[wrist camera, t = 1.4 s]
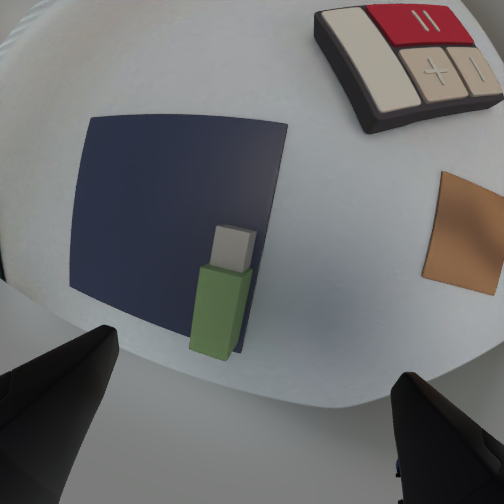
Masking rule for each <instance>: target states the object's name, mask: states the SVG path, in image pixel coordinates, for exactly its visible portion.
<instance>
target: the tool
mask: <svg viewBox="0 0 504 504" xmlns="http://www.w3.org/2000/svg"><path fill="white" fill-rule="evenodd" d="M256 234H257V231H254V230H250V229H245V228H241V227H236V226H231V225H219V226H216V231H215V236H214V242H213V248H212V253H211V259H210V263H208V264H206V265H204V266H201V267H200V272H199V279H198V285H197V292H196V299H195V306H194V314H193V321H192V329H191V337H190V345H189V349H190V350H193V351H196V352H199V353H201V354H204V355H207V356H210V357H213V358H216V359H219V360H223V361H226V360H227V359H228V357H229V356H230V354H231V353H232V351H233V350H234V348H235V346H236V345H237V343H238V340H239V335H240V330H241V325H242V320H243V315H244V311H245V306H246V301H247V296H248V291H249V286H250V281H251V277H252V272H253V269H252V268H249V267H250V264H251V259H252V254H253V249H254V244H255V239H256Z"/></svg>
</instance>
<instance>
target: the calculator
mask: <svg viewBox="0 0 504 504" xmlns="http://www.w3.org/2000/svg"><path fill="white" fill-rule="evenodd" d="M314 38H315V39H316V41H317V42H318V44H319V46H320V47H321V49H322V50H323V52H324V54H325V55H326V57H327V59H328V61H329V62H330V64H331V66H332V68H333V69H334V71H335V73H336V75H337V76H338V78H339V80H340V82H341V84H342V86H343V88H344V90H345V92H346V94H347V95H348V97H349V99H350V101H351V104H352V106H353V108H354V110H355V112H356V114H357V116H358V118H359V120H360V123H361V125H362V127H363V129H364V131H365V132H366V133H368V134H373V133H377V132H381V131H385V130H389V129H393V128H397V127H401V126H405V125H407V124H410V123H413V122H416V121H420V120H425V119H430V118H435V117H440V116H445V115H451V114H456V113H462V112H468V111H475V110H482V109H488V108H491V107H492V106H494V105H496V104H497V103H499V102H501V101H503V100H504V95H503V90H502V88H501V86H500V84H499V82H498V80H497V78H496V77H495V75H494V73H493V71H492V69H491V68H490V66H489V64H488V62H487V61H486V59H485V57H484V56H483V54H482V53H481V51H480V50H479V49H478V48H477V47H476V46H475V44H474V41H473V39H472V38H471V36H470V35H469V33H468V32H467V30H466V29H465V28H464V26H463V25H462V24H461V22H460V21H459V20H458V18H457V17H456V16H455V15H454V13H453V12H452V11H451V10H450V9H449V8H448V7H447V6H440V5H427V4H374V5H364V6H353V7H344V8H337V9H330V10H324V11H318V12H316V13H315V14H314Z"/></svg>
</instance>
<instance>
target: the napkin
mask: <svg viewBox="0 0 504 504" xmlns="http://www.w3.org/2000/svg"><path fill="white" fill-rule="evenodd" d="M287 127H288V124H284V123H277V122H270V121H262V120H254V119H245V118H235V117H223V116H208V115H184V114H142V115H119V116H104V117H93V118H91V119H90V123H89V127H88V130H87V135H86V139H85V143H84V148H83V152H82V157H81V162H80V168H79V173H78V179H77V185H76V192H75V200H74V208H73V217H72V229H71V243H70V287H72V288H74V289H76V290H78V291H80V292H82V293H84V294H86V295H88V296H91V297H93V298H95V299H97V300H99V301H101V302H103V303H106V304H108V305H110V306H112V307H114V308H117V309H119V310H121V311H124V312H126V313H128V314H131V315H133V316H135V317H138V318H140V319H143V320H145V321H148V322H150V323H153V324H155V325H158V326H160V327H163V328H166V329H168V330H171V331H174V332H176V333H179V334H182V335H185V336H187V337H191V329H192V321H193V314H194V306H195V299H196V292H197V285H198V279H199V272H200V267H201V266H204V265H206V264H208V263H210V259H211V253H212V248H213V242H214V236H215V231H216V226H219V225H231V226H236V227H241V228H245V229H250V230H254V231H257V234H256V239H255V244H254V249H253V254H252V259H251V264H250V267H249V268H252V269H253V272H252V277H251V281H250V286H249V291H248V296H247V301H246V306H245V311H244V315H243V320H242V325H241V330H240V335H239V340H238V343H237V345H236V346H235V348H234V350H233V352H236V353H241V350H242V345H243V341H244V336H245V332H246V327H247V322H248V318H249V313H250V308H251V304H252V299H253V294H254V289H255V285H256V280H257V275H258V270H259V266H260V261H261V256H262V251H263V246H264V242H265V237H266V232H267V227H268V222H269V217H270V212H271V207H272V203H273V198H274V193H275V188H276V183H277V178H278V173H279V168H280V163H281V158H282V152H283V147H284V142H285V137H286V132H287Z"/></svg>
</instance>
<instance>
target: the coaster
mask: <svg viewBox="0 0 504 504" xmlns="http://www.w3.org/2000/svg"><path fill="white" fill-rule="evenodd" d="M503 261H504V197H502V196H500V195H498V194H496V193H494V192H492V191H489V190H487V189H485V188H483V187H481V186H479V185H476V184H474V183H472V182H469V181H467V180H465V179H462V178H460V177H457V176H455V175H452V174H450V173H447V172H445V171H442V175H441V183H440V191H439V197H438V204H437V210H436V215H435V221H434V226H433V231H432V236H431V240H430V245H429V249H428V253H427V257H426V261H425V265H424V268H423V272H422V277H424V278H428V279H432V280H436V281H440V282H443V283H447V284H451V285H455V286H459V287H463V288H466V289H470V290H474V291H478V292H481V293H485V294H489V295H492V296H494V295H495V291H496V288H497V285H498V281H499V277H500V274H501V270H502V266H503Z"/></svg>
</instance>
